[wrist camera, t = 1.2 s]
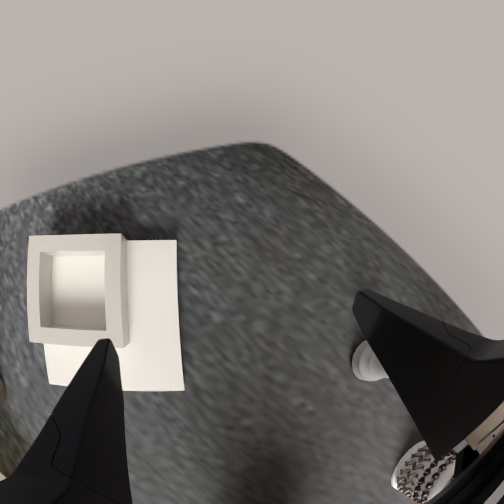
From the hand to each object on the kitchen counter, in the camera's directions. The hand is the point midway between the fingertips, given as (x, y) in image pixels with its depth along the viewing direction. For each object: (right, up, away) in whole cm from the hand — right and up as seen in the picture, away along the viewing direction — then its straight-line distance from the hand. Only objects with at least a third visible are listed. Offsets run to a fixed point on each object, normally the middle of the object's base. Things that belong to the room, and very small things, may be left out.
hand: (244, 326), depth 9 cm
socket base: (-12, -3, +12) cm, 17 cm away
